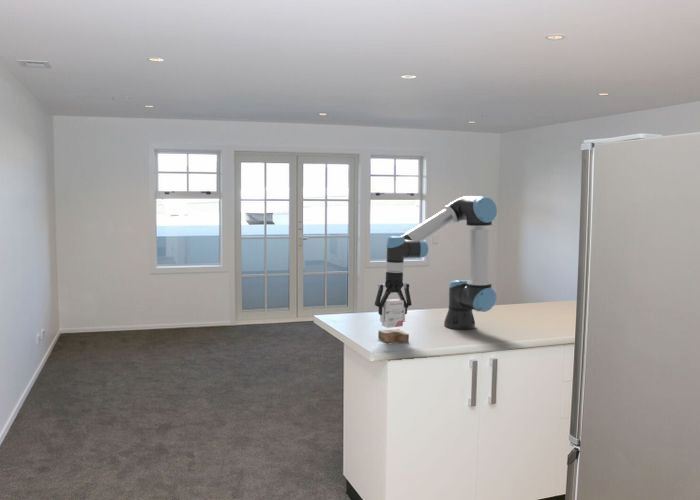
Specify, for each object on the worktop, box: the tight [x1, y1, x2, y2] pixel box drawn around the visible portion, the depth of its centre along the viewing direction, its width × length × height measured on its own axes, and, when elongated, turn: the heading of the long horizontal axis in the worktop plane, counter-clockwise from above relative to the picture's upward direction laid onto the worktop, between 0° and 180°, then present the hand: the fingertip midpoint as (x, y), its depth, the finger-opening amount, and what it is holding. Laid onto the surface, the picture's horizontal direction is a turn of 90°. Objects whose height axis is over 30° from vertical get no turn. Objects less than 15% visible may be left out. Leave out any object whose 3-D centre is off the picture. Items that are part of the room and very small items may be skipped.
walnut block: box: [377, 328, 410, 344], centre depth 299 cm, size 10×10×4 cm
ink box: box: [381, 298, 404, 329], centre depth 299 cm, size 9×5×12 cm, turn 122°
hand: (392, 321), depth 299 cm, fingers closed on ink box, 9 cm apart
